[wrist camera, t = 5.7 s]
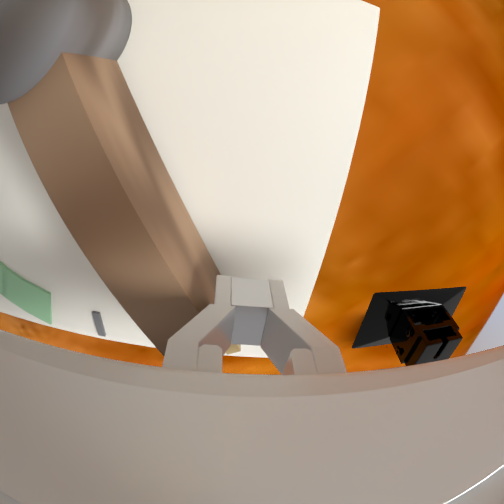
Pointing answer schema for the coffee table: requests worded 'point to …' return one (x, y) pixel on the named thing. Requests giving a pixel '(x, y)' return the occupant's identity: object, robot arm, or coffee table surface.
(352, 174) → the coffee table surface
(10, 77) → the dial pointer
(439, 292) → the black flanged block
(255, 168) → the dial plate
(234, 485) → the robot arm
